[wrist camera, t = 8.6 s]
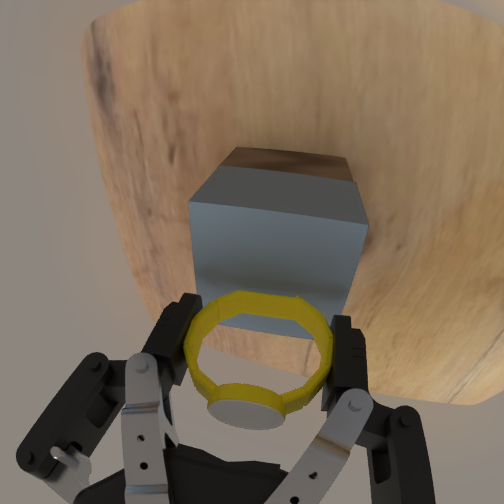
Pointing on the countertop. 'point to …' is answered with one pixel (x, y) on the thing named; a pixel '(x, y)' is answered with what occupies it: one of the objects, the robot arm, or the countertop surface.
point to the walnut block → (290, 162)
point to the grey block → (276, 241)
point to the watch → (249, 396)
